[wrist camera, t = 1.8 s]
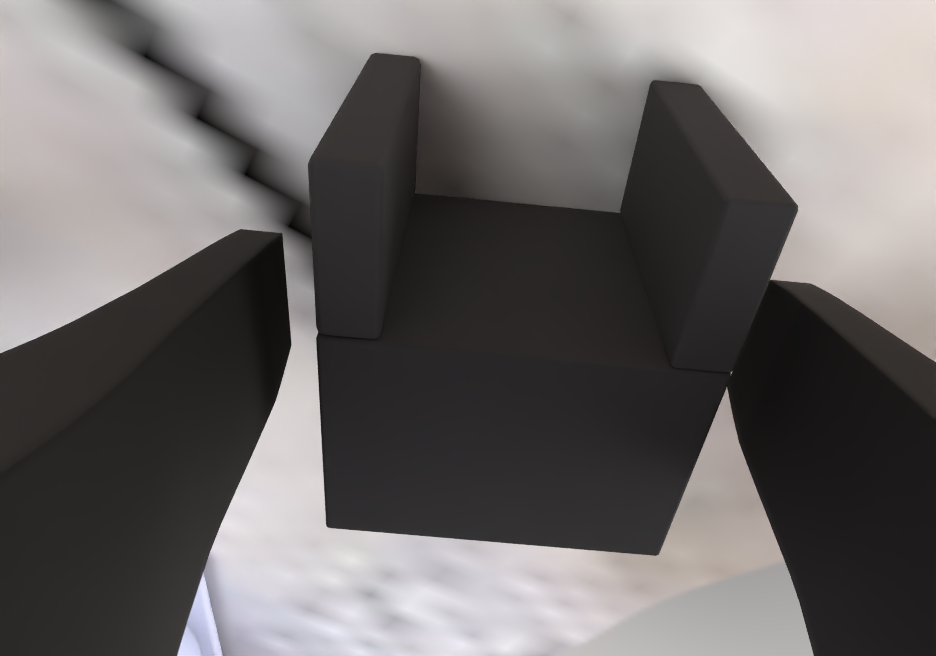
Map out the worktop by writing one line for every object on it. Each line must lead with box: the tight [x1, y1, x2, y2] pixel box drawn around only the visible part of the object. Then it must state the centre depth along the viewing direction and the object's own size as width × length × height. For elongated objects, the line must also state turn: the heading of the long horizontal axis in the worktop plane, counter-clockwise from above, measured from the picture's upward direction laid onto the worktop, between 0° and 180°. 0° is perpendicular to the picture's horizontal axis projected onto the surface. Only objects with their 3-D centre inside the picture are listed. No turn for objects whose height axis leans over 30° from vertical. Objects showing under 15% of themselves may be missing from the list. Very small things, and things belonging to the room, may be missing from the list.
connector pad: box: [308, 53, 798, 556], centre depth 11 cm, size 6×5×4 cm
